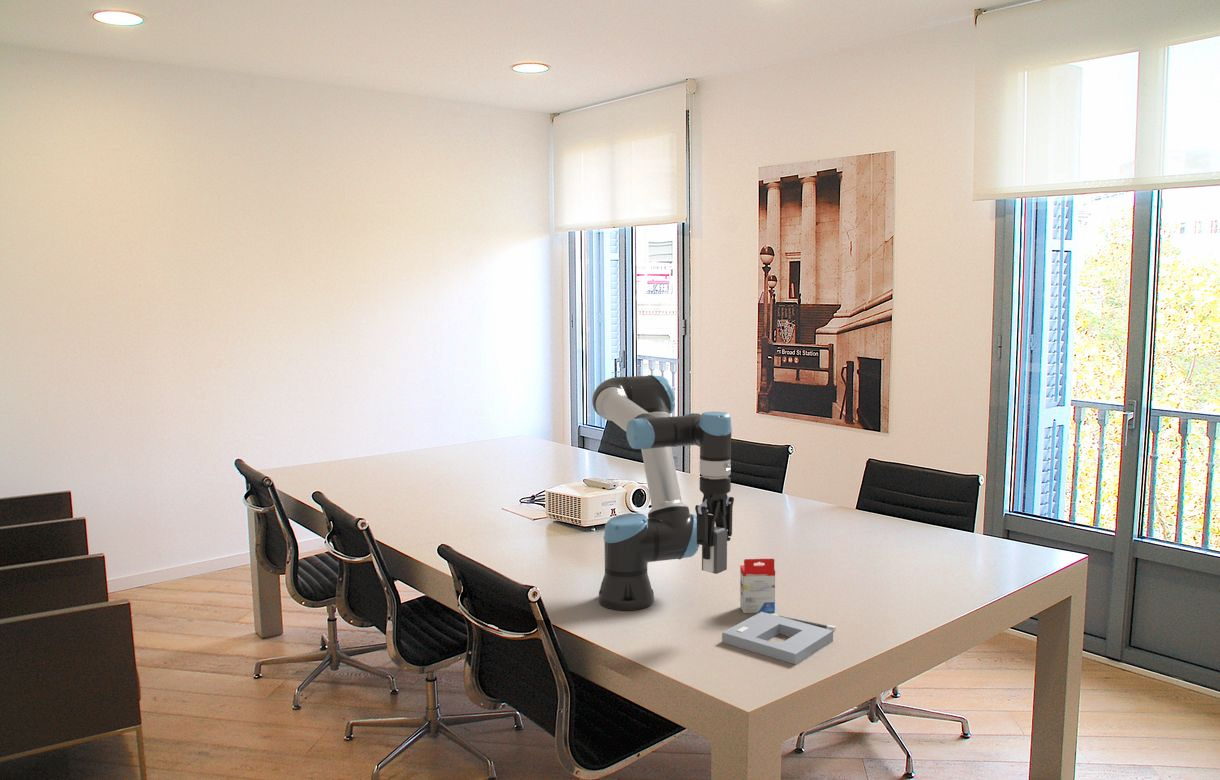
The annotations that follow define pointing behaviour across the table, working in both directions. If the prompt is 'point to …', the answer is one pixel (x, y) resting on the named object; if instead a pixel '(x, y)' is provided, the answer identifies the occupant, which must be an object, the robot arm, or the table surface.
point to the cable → (813, 623)
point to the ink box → (757, 586)
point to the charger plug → (719, 550)
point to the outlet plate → (767, 626)
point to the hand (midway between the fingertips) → (714, 568)
